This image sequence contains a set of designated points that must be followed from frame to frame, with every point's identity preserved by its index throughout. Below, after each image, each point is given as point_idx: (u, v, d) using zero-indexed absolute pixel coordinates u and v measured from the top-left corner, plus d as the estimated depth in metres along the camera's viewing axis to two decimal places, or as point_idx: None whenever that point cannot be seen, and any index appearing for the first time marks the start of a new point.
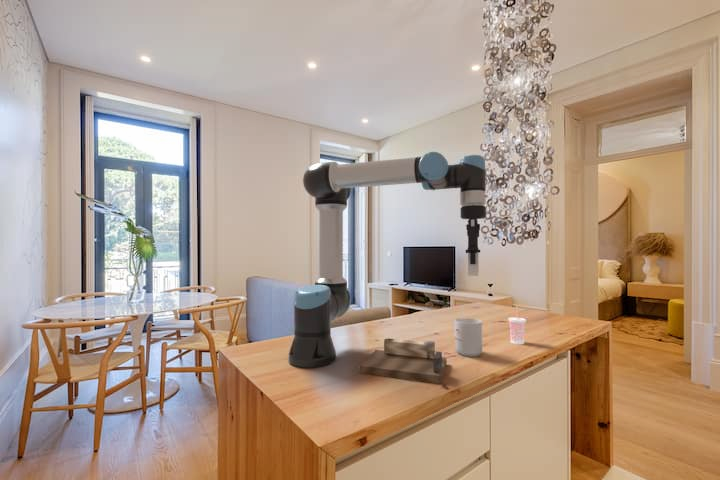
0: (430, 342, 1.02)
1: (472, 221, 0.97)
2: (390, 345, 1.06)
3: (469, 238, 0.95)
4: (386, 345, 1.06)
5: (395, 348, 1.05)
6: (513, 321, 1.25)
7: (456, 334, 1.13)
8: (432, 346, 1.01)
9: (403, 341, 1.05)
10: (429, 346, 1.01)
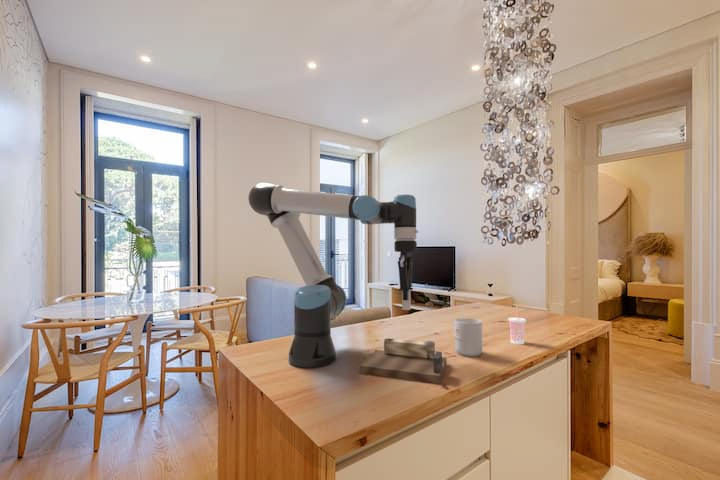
0: (430, 342, 1.02)
1: (401, 264, 1.07)
2: (390, 345, 1.06)
3: (400, 279, 1.09)
4: (386, 345, 1.06)
5: (395, 348, 1.05)
6: (513, 321, 1.25)
7: (456, 334, 1.13)
8: (432, 346, 1.01)
9: (403, 341, 1.05)
10: (429, 346, 1.01)
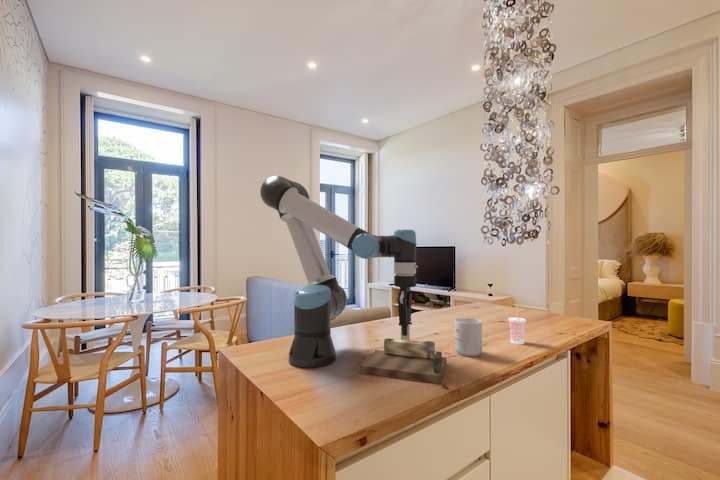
0: (430, 342, 1.02)
1: (401, 300, 1.07)
2: (390, 345, 1.06)
3: (399, 315, 1.09)
4: (386, 345, 1.06)
5: (395, 348, 1.05)
6: (513, 321, 1.25)
7: (456, 334, 1.13)
8: (432, 346, 1.01)
9: (403, 341, 1.05)
10: (429, 346, 1.01)
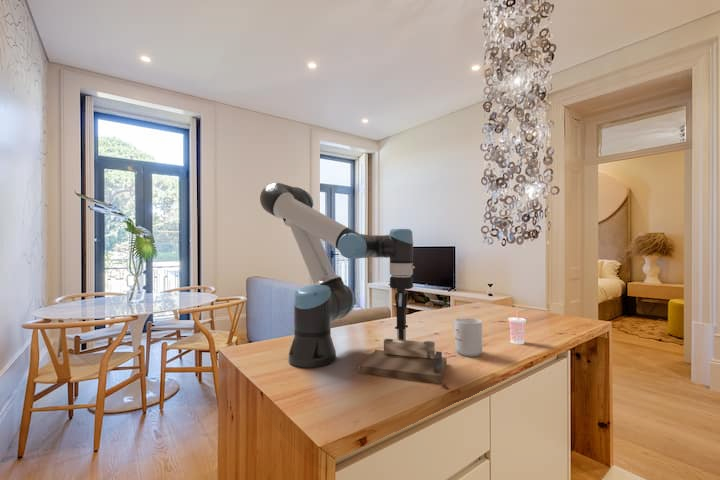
0: (430, 342, 1.02)
1: (400, 303, 1.02)
2: (390, 345, 1.05)
3: (397, 318, 1.04)
4: (386, 346, 1.06)
5: (395, 348, 1.05)
6: (513, 321, 1.25)
7: (456, 334, 1.13)
8: (432, 346, 1.01)
9: (403, 341, 1.05)
10: (429, 346, 1.01)
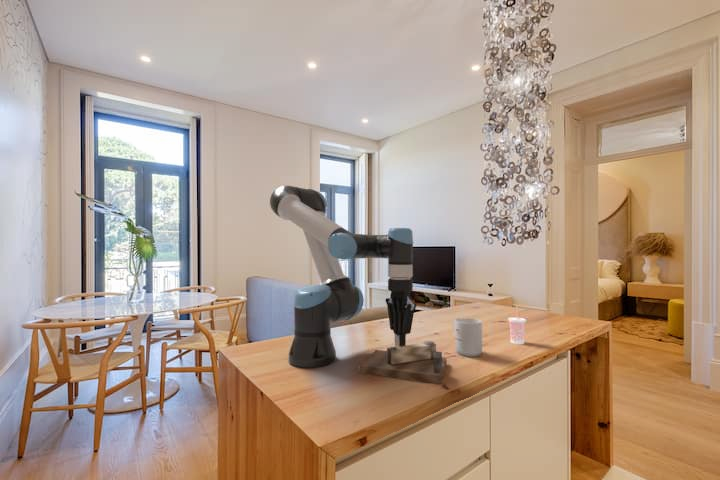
0: (430, 342, 1.03)
1: (413, 307, 0.96)
2: (397, 353, 0.97)
3: (406, 323, 0.97)
4: (393, 355, 0.96)
5: (402, 356, 0.97)
6: (513, 321, 1.25)
7: (456, 334, 1.13)
8: (435, 345, 1.02)
9: (407, 347, 0.99)
10: (433, 346, 1.02)
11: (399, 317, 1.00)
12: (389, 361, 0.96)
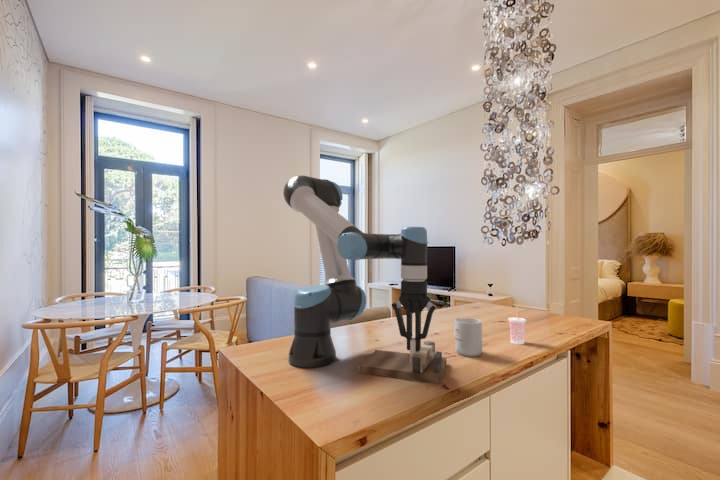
0: (430, 342, 1.03)
1: (435, 308, 0.94)
2: (423, 360, 0.91)
3: (428, 326, 0.93)
4: (422, 362, 0.90)
5: (425, 361, 0.93)
6: (513, 321, 1.25)
7: (456, 334, 1.13)
8: (434, 344, 1.03)
9: (423, 351, 0.95)
10: (434, 345, 1.02)
11: (417, 321, 0.94)
12: (418, 370, 0.90)
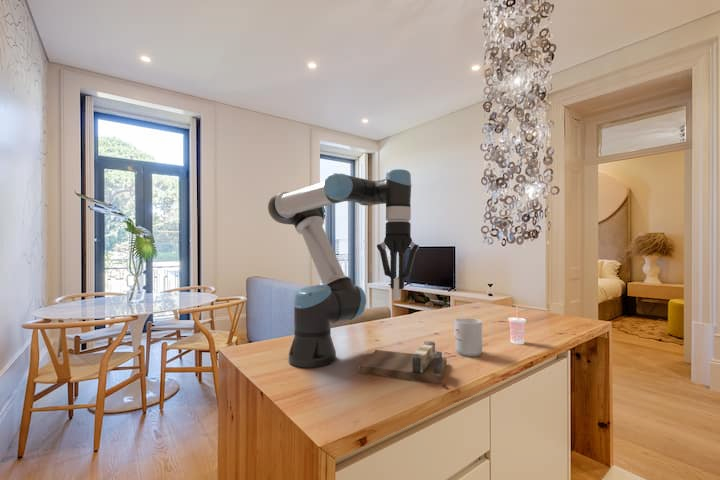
0: (430, 342, 1.03)
1: (418, 247, 0.98)
2: (423, 360, 0.91)
3: (411, 265, 0.97)
4: (422, 362, 0.90)
5: (425, 361, 0.93)
6: (513, 321, 1.25)
7: (456, 334, 1.13)
8: (434, 344, 1.03)
9: (423, 351, 0.95)
10: (434, 345, 1.02)
11: (400, 260, 0.98)
12: (418, 370, 0.90)
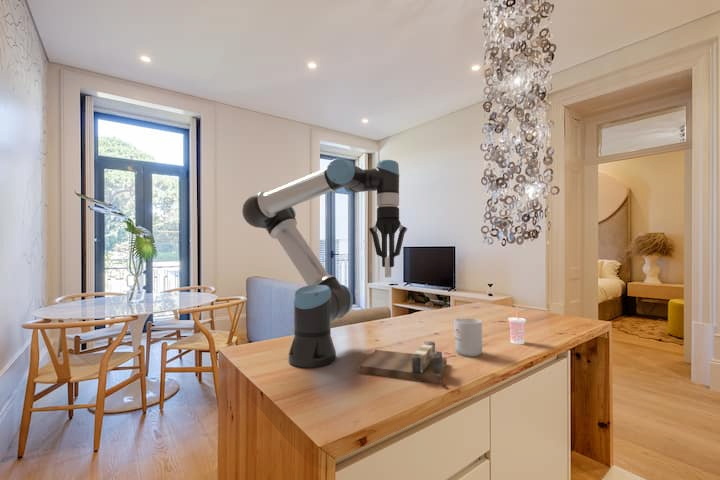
0: (430, 342, 1.03)
1: (406, 229, 1.09)
2: (423, 360, 0.91)
3: (400, 245, 1.09)
4: (422, 362, 0.90)
5: (425, 361, 0.93)
6: (513, 321, 1.25)
7: (456, 334, 1.13)
8: (434, 344, 1.03)
9: (423, 351, 0.95)
10: (434, 345, 1.02)
11: (390, 241, 1.10)
12: (418, 370, 0.90)
